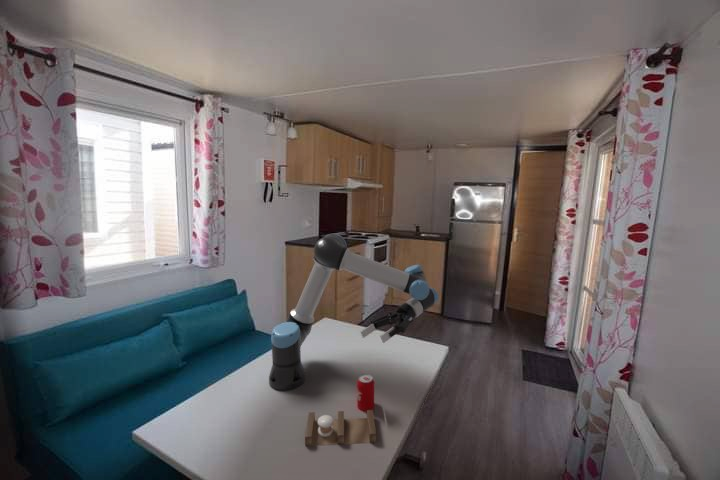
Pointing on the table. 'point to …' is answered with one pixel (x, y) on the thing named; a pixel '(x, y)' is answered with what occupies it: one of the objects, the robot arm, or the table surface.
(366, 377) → the beverage can
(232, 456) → the table surface
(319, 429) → the white knob
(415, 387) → the table surface
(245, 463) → the table surface
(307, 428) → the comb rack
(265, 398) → the table surface
